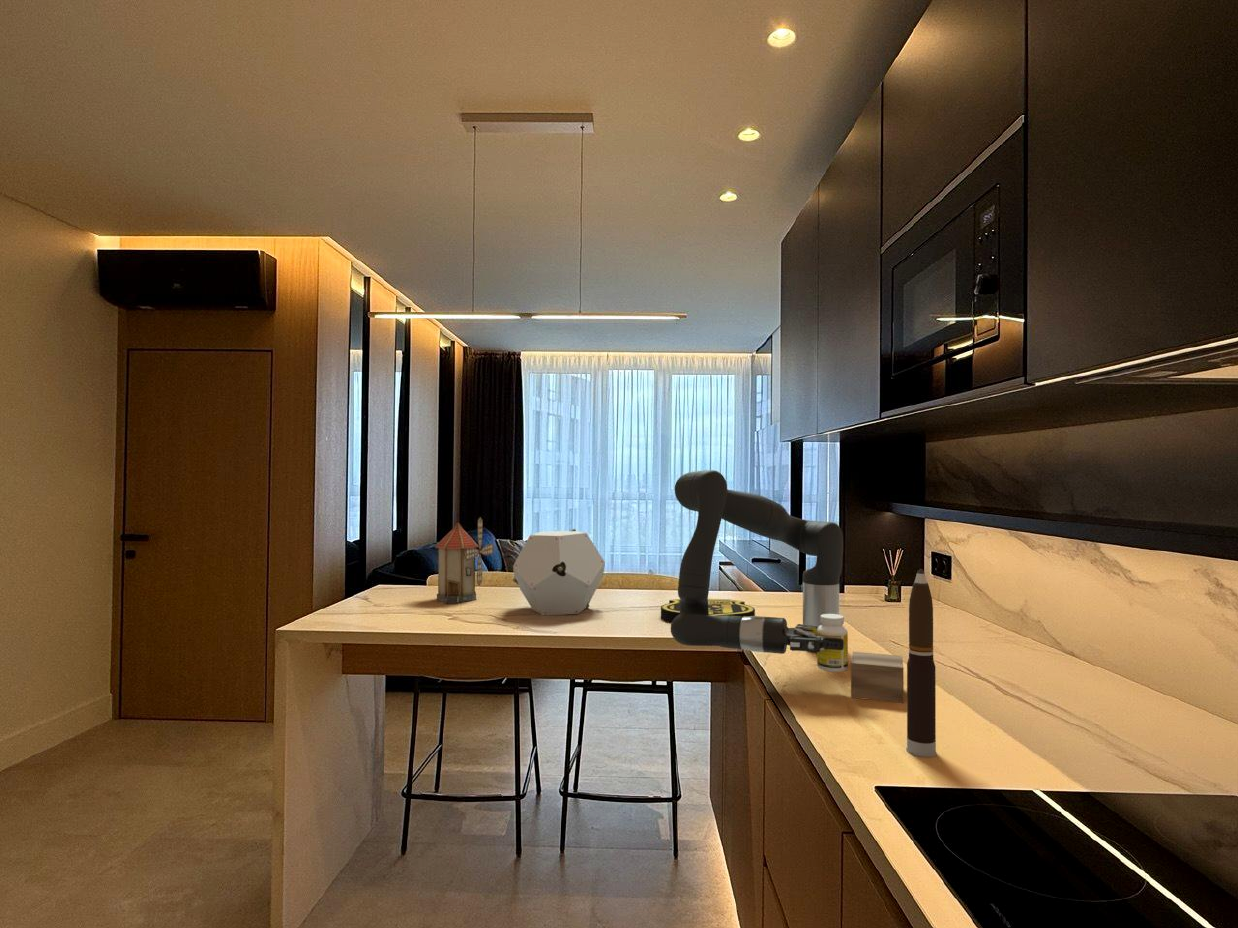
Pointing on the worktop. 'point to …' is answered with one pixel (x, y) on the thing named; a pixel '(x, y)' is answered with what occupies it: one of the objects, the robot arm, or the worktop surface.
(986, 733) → the worktop surface
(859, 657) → the walnut block
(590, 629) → the worktop surface
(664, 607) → the emblem
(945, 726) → the worktop surface
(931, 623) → the ammunition
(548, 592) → the geometric sculpture
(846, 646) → the pill bottle
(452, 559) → the miniature windmill
